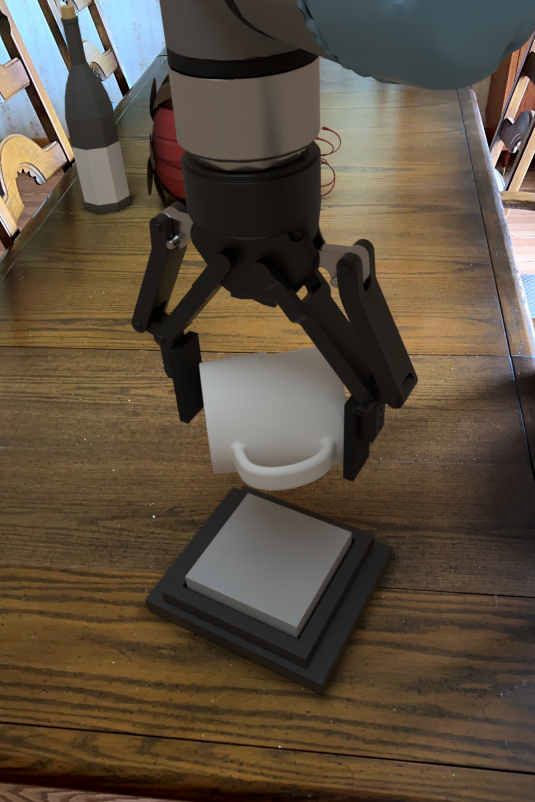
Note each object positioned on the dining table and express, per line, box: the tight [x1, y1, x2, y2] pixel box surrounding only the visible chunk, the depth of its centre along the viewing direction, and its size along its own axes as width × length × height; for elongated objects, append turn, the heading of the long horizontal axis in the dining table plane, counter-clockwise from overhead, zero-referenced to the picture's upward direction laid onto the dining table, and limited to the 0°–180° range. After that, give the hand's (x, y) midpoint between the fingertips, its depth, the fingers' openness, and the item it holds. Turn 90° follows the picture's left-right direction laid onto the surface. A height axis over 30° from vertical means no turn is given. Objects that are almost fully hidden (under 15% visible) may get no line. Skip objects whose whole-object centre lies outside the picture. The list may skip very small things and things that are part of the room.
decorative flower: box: [146, 72, 342, 209], centre depth 115 cm, size 22×23×30 cm
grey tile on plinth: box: [185, 493, 352, 638], centre depth 59 cm, size 10×10×2 cm
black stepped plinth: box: [144, 485, 394, 696], centre depth 60 cm, size 16×14×3 cm
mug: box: [199, 345, 348, 492], centre depth 50 cm, size 12×9×8 cm
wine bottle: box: [59, 3, 131, 215], centre depth 112 cm, size 8×8×30 cm
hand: (270, 438), depth 52 cm, fingers closed on mug, 13 cm apart
